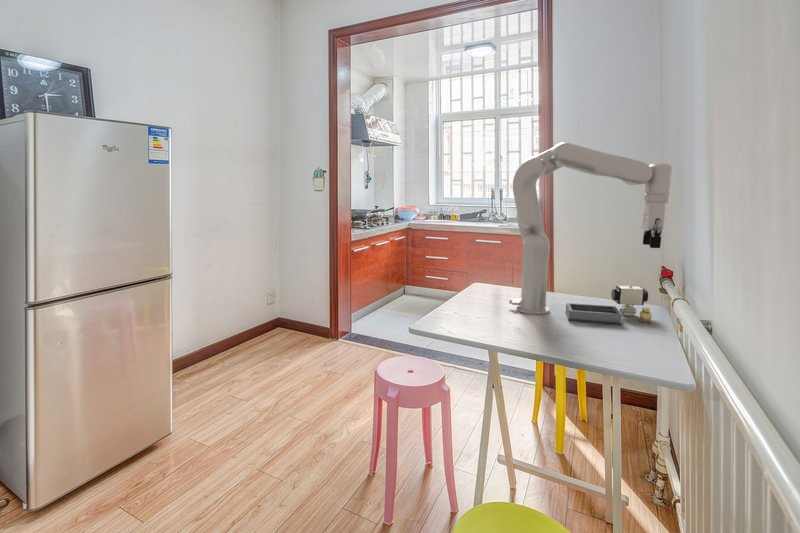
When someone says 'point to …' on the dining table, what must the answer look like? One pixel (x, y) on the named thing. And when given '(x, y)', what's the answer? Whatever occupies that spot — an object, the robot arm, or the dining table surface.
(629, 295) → the pneumatic valve
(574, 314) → the gray rectangular tray
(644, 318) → the brass fitting
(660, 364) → the dining table surface
